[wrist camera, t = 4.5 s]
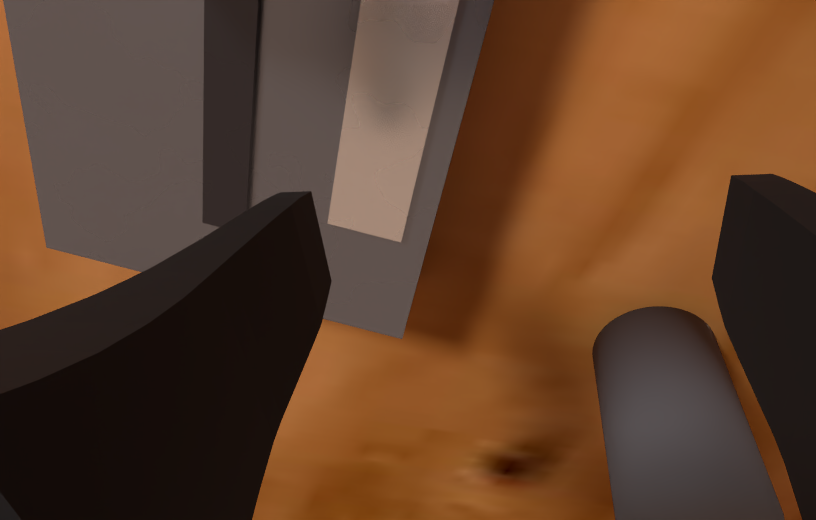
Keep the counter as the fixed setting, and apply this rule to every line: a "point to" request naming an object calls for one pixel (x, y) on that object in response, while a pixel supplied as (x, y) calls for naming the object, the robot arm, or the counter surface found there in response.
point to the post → (676, 423)
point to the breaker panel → (248, 126)
